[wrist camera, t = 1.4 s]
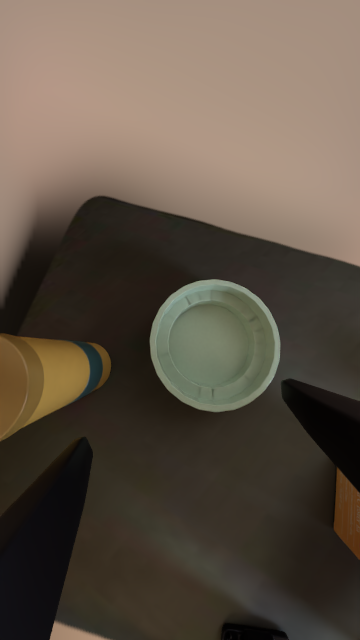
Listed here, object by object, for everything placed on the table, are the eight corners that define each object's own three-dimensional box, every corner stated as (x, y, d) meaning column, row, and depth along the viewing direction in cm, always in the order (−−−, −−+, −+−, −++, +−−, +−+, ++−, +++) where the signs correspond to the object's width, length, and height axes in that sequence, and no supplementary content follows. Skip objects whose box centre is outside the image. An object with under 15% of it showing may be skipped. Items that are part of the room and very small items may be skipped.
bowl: (256, 407, 21) (276, 421, 17) (145, 390, 21) (138, 400, 17) (264, 300, 23) (283, 289, 19) (164, 284, 23) (162, 270, 19)
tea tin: (105, 397, 21) (6, 466, 8) (54, 389, 21) (-120, 447, 8) (116, 345, 22) (42, 340, 9) (67, 338, 22) (-71, 323, 9)
